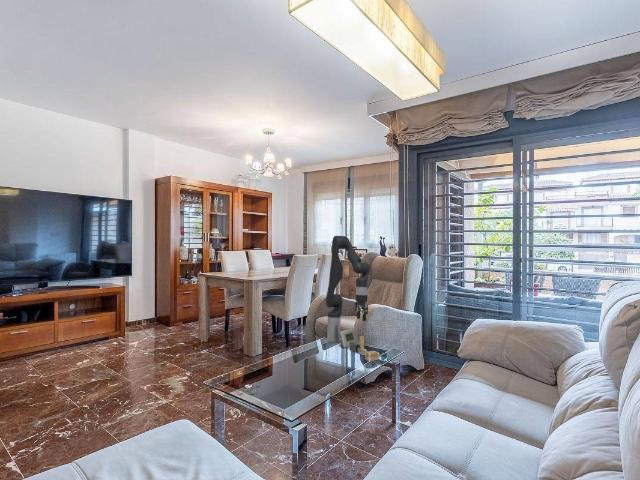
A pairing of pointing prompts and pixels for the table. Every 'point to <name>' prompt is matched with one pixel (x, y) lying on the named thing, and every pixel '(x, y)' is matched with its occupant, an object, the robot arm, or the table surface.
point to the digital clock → (348, 337)
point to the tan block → (371, 355)
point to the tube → (361, 346)
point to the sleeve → (353, 346)
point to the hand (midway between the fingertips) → (361, 319)
